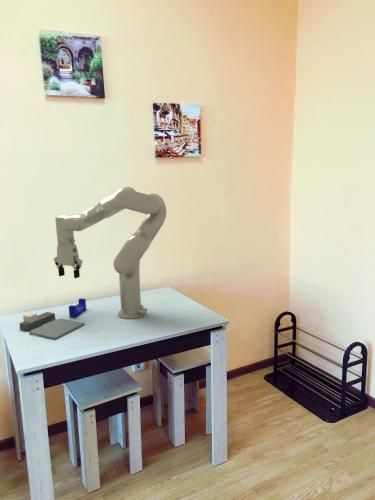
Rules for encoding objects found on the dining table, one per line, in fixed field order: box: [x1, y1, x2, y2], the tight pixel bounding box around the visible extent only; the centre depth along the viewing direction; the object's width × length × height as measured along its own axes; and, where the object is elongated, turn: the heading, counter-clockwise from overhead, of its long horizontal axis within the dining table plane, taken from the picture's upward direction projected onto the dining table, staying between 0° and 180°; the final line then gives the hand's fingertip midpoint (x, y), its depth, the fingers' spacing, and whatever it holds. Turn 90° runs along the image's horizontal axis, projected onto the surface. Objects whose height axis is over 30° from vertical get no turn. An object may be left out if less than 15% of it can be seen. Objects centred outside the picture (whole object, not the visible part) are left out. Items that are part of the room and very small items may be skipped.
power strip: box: [19, 311, 56, 332], centre depth 189 cm, size 5×16×6 cm, turn 152°
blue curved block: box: [68, 298, 87, 319], centre depth 202 cm, size 12×4×6 cm, turn 169°
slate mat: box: [28, 317, 86, 341], centre depth 183 cm, size 15×18×1 cm
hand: (69, 276), depth 198 cm, fingers open, 9 cm apart
